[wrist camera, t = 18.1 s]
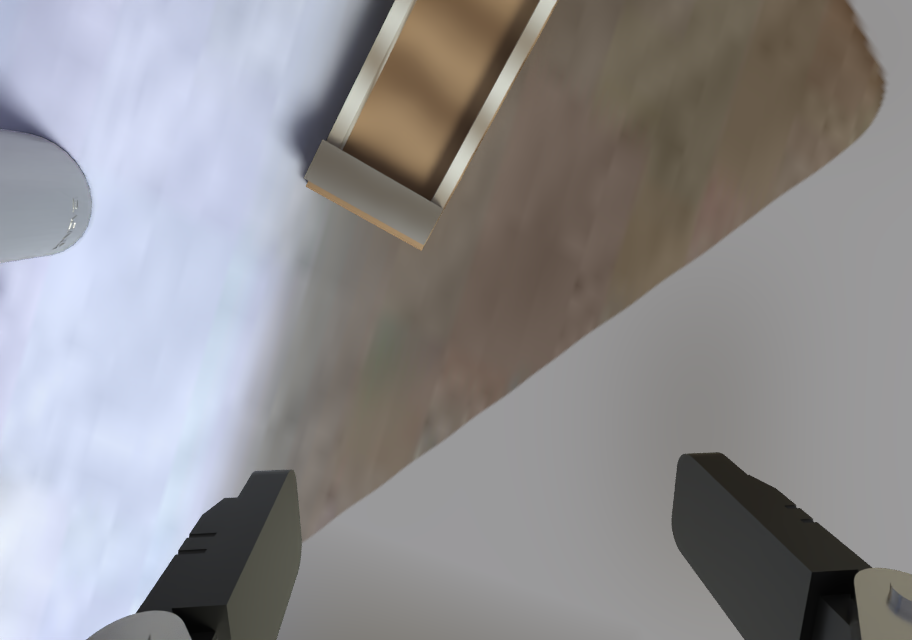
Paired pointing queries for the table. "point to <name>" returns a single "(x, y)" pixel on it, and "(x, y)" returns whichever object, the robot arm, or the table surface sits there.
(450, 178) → the rail
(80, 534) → the table surface
